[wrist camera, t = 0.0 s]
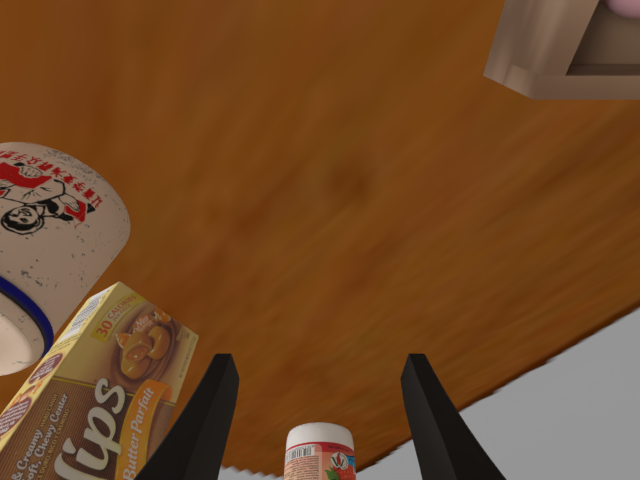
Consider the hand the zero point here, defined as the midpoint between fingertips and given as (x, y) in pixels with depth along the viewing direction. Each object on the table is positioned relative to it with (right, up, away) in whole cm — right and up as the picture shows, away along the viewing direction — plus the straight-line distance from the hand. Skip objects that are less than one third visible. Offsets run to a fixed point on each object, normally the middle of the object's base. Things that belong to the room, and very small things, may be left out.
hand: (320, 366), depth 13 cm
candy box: (-15, -1, +14) cm, 21 cm away
